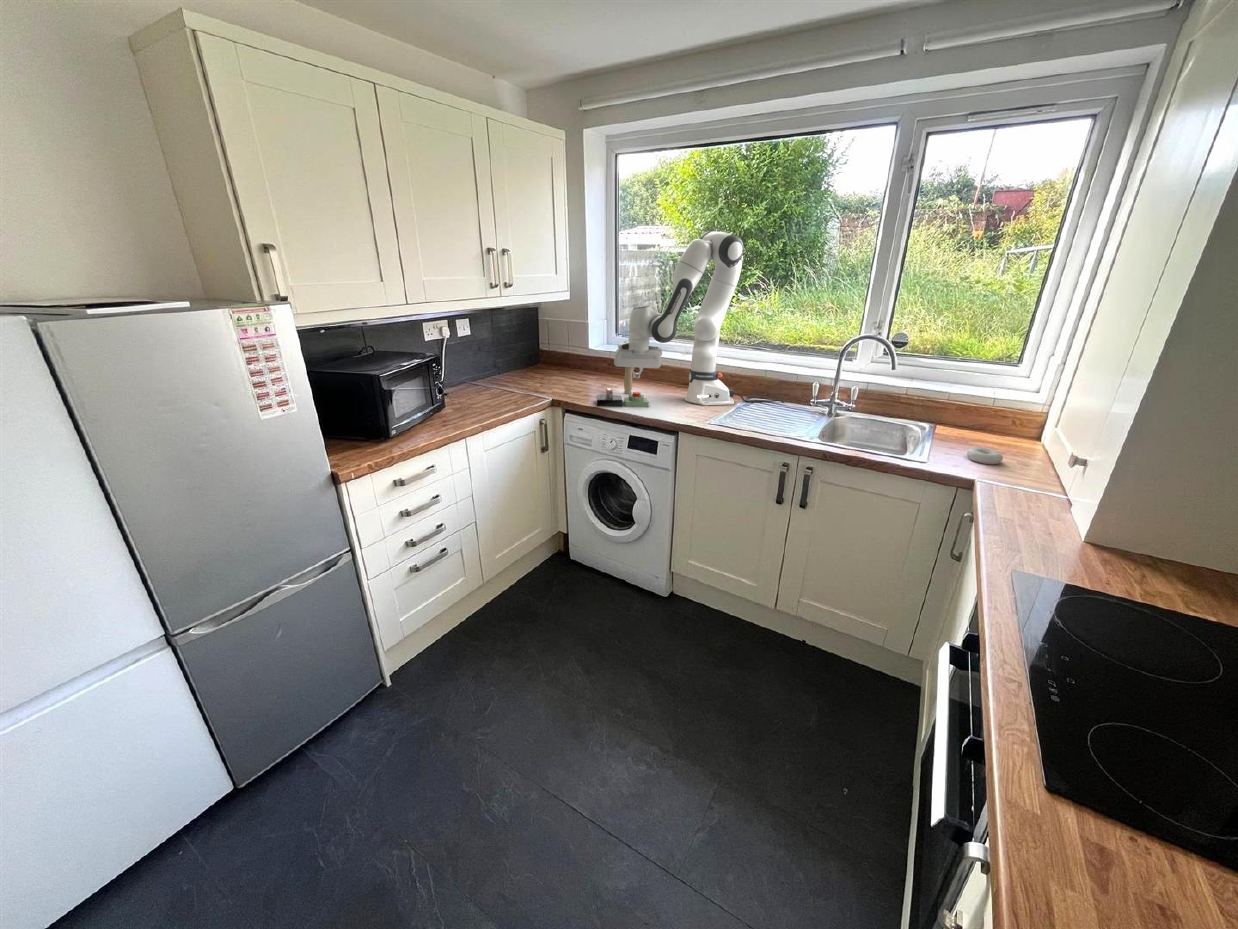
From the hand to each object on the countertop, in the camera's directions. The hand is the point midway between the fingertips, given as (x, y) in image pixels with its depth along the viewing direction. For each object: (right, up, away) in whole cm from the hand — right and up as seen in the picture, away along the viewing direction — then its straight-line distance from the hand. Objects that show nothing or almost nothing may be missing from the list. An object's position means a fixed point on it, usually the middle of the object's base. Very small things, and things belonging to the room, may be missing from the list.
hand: (636, 377), depth 217 cm
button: (0, -8, +3) cm, 9 cm away
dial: (-12, -8, +3) cm, 15 cm away
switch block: (0, -11, +4) cm, 12 cm away
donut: (+115, -37, -50) cm, 131 cm away
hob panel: (-12, -11, +4) cm, 17 cm away
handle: (-3, -4, +24) cm, 24 cm away
